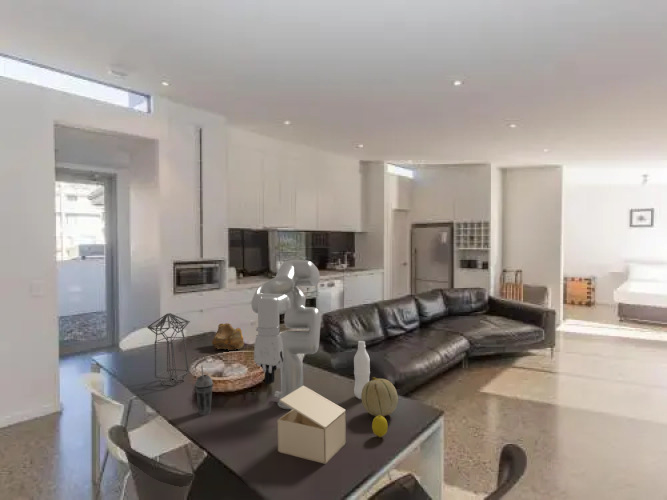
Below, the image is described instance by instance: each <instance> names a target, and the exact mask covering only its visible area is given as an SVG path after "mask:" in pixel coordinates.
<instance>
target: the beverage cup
mask: <svg viewBox="0 0 667 500" xmlns="http://www.w3.org/2000/svg"><path fill="white" fill-rule="evenodd" d="M200 367H201V369H200V370H201V375H200V376H199V377H198V378H196V380H195V384H194V387H195V388H194V389H195V392H196V402H197V408H198V409H197V410H198V413H199V416H200V415H201V416H207V415H209V414H211V409H212V396H213V387H214V382H213V379H212V377H211V376H209V374H208V375H207V374H204V369H203V365H200Z"/></svg>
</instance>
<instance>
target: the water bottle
mask: <svg viewBox="0 0 667 500" xmlns="http://www.w3.org/2000/svg"><path fill="white" fill-rule="evenodd" d="M366 347H367V346H366V341H365V340H358V344H357V351H356V353H355V355H354V357H353V366H354V367H353V368H354V370H353V374H354V388H353V392H354V396H355V397H356V398H357V399H358V400H362V398H361V394H362V389H363V387H364V386H365V384H366V383H367V382H369V381H370V374H371V371H370V370H371V369H370V368H371V365H370V364H371V363H370V362H371V360H370V356H369V353H368V351H367V349H366Z"/></svg>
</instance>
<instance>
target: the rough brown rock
mask: <svg viewBox="0 0 667 500" xmlns="http://www.w3.org/2000/svg"><path fill="white" fill-rule="evenodd" d="M217 327H218V328H217V331H216V333H215V334H214V337H213V339H212V341H211V344H212V346H213V348H214V349H215V348H219V349H218V350H221V349H222V350H226V349H229V350H233V351H237V350H236V349H238V350H240V349H242V348H243V347H244V345H245V343H244V342H245V341H244V337H243V332H242V329H241V328H239V327H237V328H234V327H233V326H232V325H231V323H228V322H227V323H219V324H218V325H217ZM229 350H228V351H229Z"/></svg>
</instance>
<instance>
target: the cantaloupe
mask: <svg viewBox="0 0 667 500" xmlns="http://www.w3.org/2000/svg"><path fill="white" fill-rule="evenodd" d="M398 395H399V394H398V392H397V389H396V387H395V386H394V384H393V383H392V382H391V381H389V380H388V379H385V378H377V377H375V376H372V377H371V380H369V382H367V383H366V384H365V386H364V387H363V389H362V394H361V398H362V399H361V402H362V405H363V408H364V409H365V411H366V412H368V414H369V415H371V416H374V417H376V416H379V415H381V416H383V417H385V416H388V415H390V414H392V413H393V412H394V411H395V410H396V409H397V406H398V402H399V398H398V397H399V396H398Z"/></svg>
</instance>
